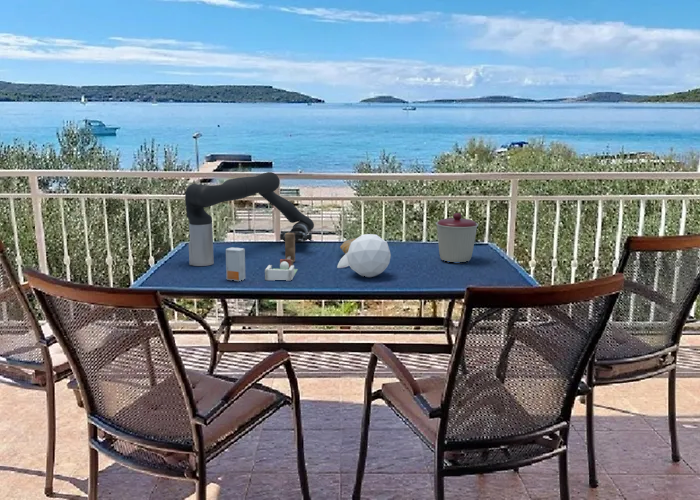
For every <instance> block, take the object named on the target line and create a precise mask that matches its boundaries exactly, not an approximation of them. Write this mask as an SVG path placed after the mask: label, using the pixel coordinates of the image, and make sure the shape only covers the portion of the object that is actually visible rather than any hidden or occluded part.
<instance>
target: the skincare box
mask: <svg viewBox="0 0 700 500" xmlns="http://www.w3.org/2000/svg"><path fill="white" fill-rule="evenodd" d="M225 269H226V270H225V271H226V274H225V275H226V277H225V278H226V280H227V281H232V280H234V281H233V282H239V281H240V282H242V281H245V280H246V248H241V247H228V248H225ZM244 279H245V280H244ZM241 280H242V281H241Z"/></svg>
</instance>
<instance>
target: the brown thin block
mask: <svg viewBox="0 0 700 500" xmlns="http://www.w3.org/2000/svg"><path fill="white" fill-rule="evenodd" d="M284 242H285V243H284V247H285V248H284V249H285V250H284V251H285V255H284V257H285V258H284V259H283V258H280V259H279V265H280V264H281V262H283V261H286V262H287V263H288V264H289V268H290V267H291V260H293V263H294V262H295V261H296V242H295V233H289V232H285V241H284ZM289 268H288V269H289Z"/></svg>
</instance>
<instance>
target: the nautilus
mask: <svg viewBox="0 0 700 500" xmlns="http://www.w3.org/2000/svg"><path fill="white" fill-rule="evenodd" d="M357 238H358V237H355V238H350V239H348V240H345V241H344V242H343V243H342V244H341V245H340V247H339V248H340V249H341V251H342V252H343V253H344V254H346V253H348V250H349V247H350V244H351V242H353V241H354V240H355V239H357Z"/></svg>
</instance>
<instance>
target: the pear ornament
mask: <svg viewBox="0 0 700 500" xmlns="http://www.w3.org/2000/svg"><path fill="white" fill-rule="evenodd" d="M356 238H357V239H355V238H354V239H355V240H354V241H353V242H351V244H350V247H349V250H348V253H344V255H343V256H342V257H341V258H340V260H339V262H338V263H337V266H336V268H337V269H343V268H347V267H350V269H351V270H352V271H354V272H356V273H357V274H358V275H359V276H361V277H364V276H365V277H366V278H372V277H373V278H374V277H377V276H378V275H380V274H382V273H383V272H384V271H385V270H386V269H387V268H388V266H390V265H389V264H390V261H391V255H392V254H391V250H390V247H389V244H388V241H386V240H384V239H383V238H382V237H380V236H379V235H378V234H372V233H366V234H361V235H360V236H358V237H356Z"/></svg>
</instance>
